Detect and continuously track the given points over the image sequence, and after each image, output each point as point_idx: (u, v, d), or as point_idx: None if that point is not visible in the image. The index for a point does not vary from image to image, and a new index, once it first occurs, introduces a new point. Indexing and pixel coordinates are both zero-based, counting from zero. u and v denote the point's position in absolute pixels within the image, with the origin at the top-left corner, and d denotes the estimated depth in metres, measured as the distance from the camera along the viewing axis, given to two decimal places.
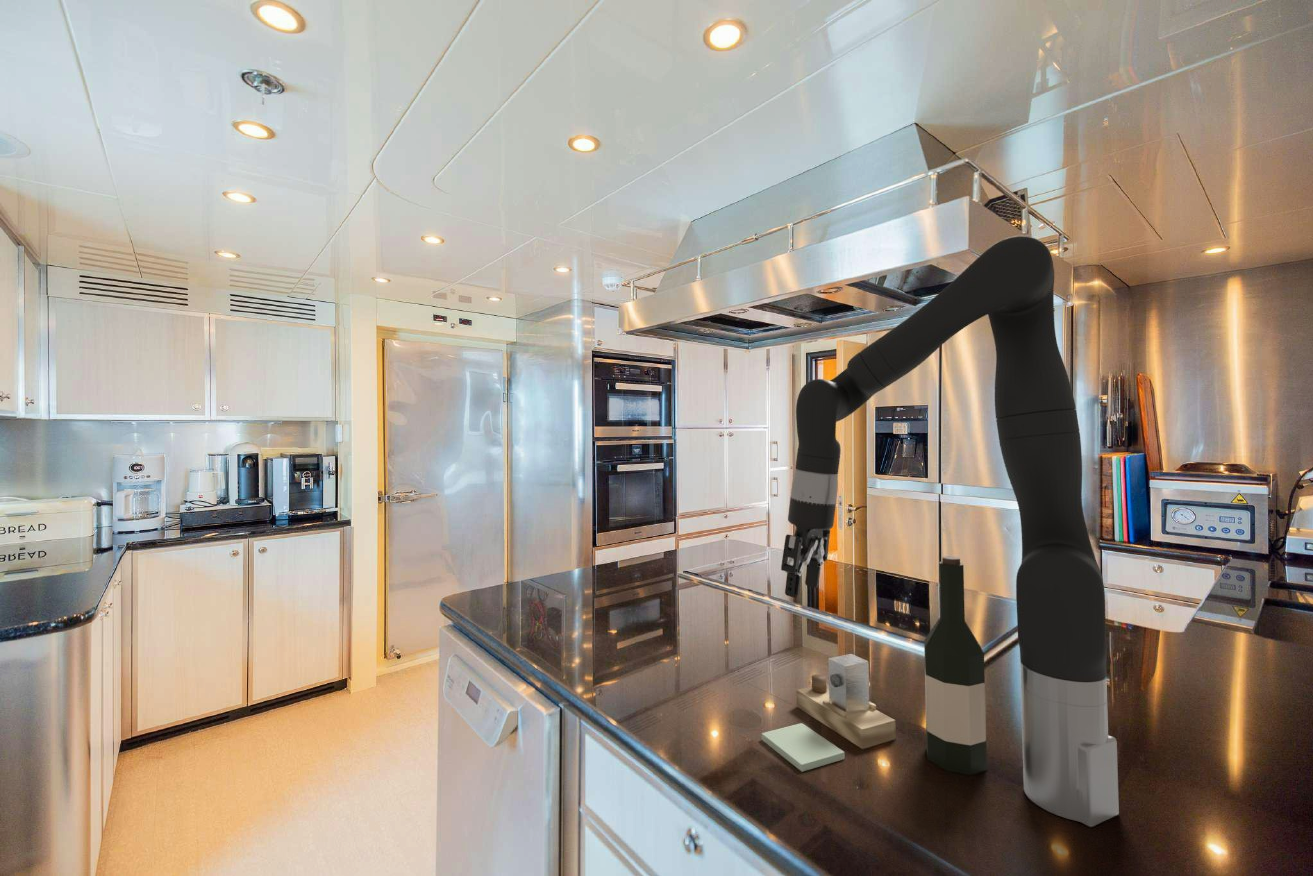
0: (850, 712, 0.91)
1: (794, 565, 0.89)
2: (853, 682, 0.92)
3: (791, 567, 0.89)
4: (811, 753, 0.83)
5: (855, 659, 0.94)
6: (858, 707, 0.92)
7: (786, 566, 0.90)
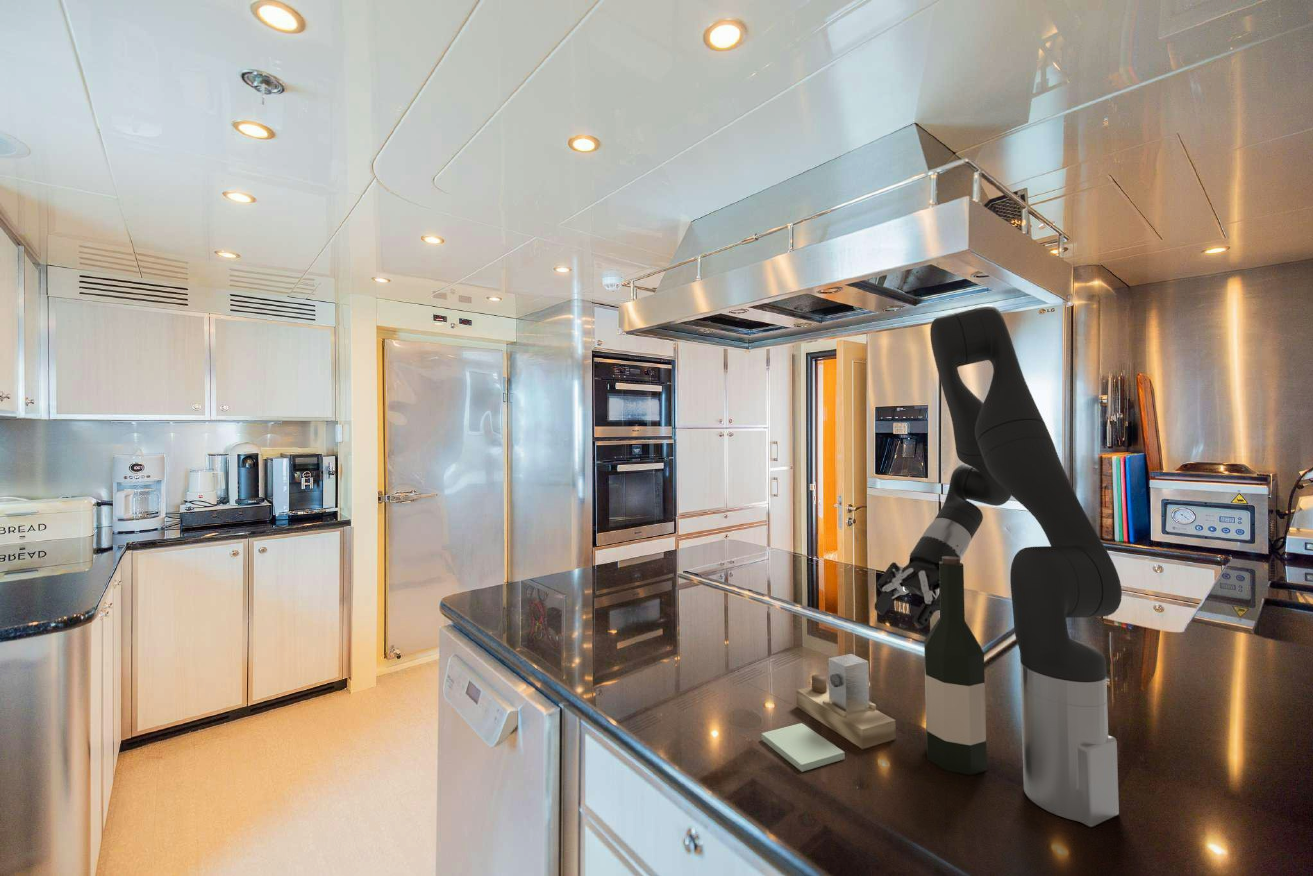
0: (850, 712, 0.91)
1: None
2: (853, 682, 0.92)
3: None
4: (811, 753, 0.83)
5: (855, 659, 0.94)
6: (858, 707, 0.92)
7: None
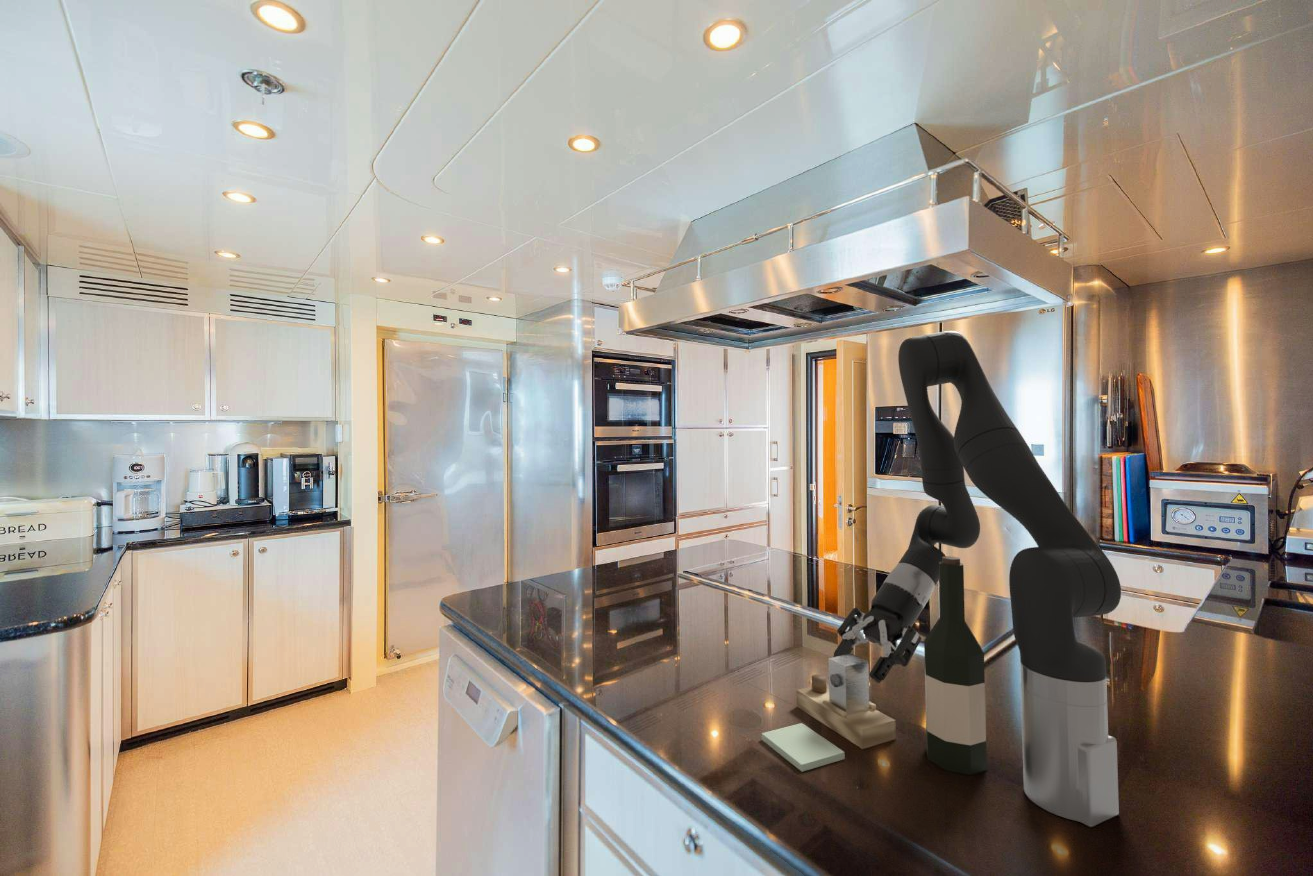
0: (850, 712, 0.91)
1: None
2: (853, 682, 0.92)
3: None
4: (811, 753, 0.83)
5: (855, 659, 0.94)
6: (858, 707, 0.92)
7: None
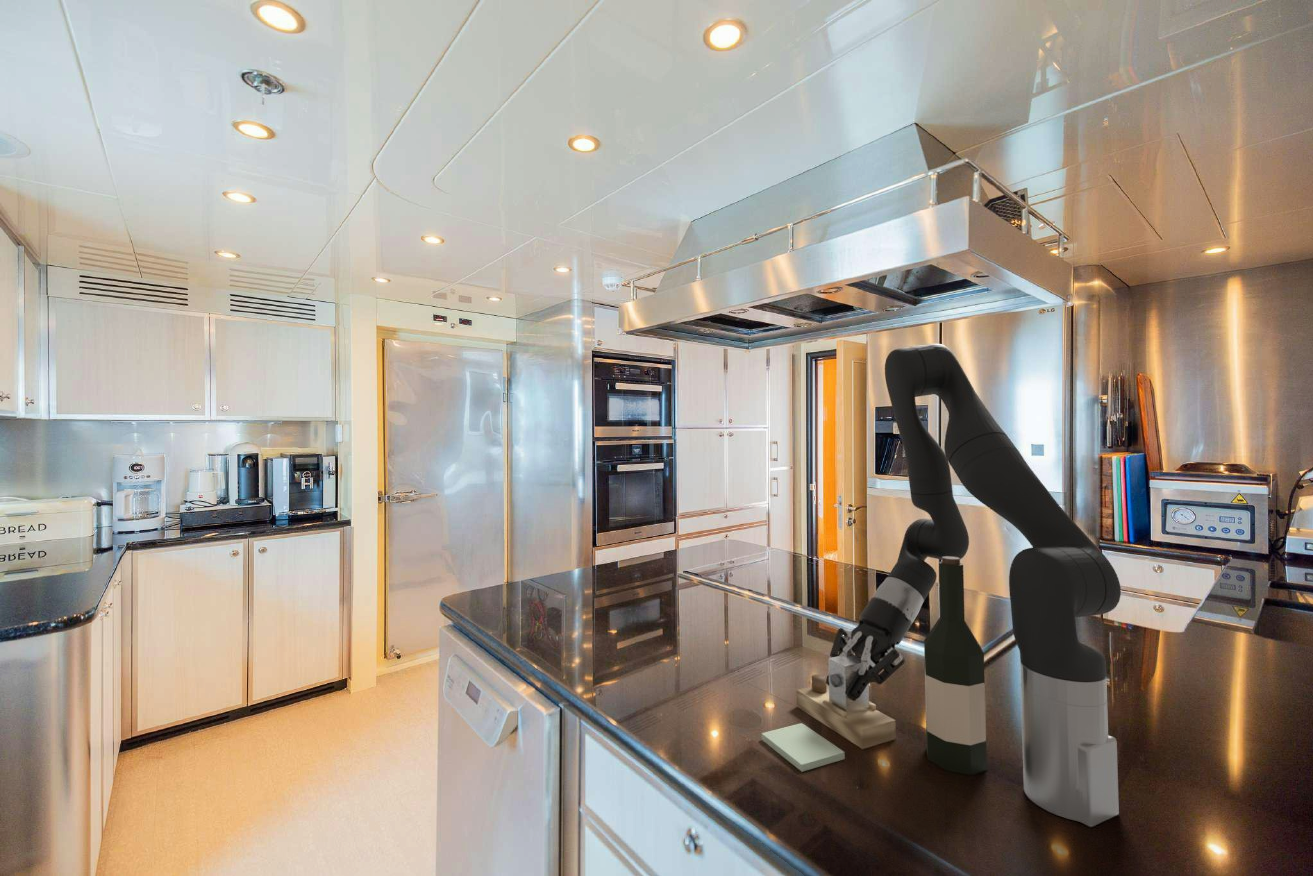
0: (850, 712, 0.91)
1: (832, 650, 0.99)
2: None
3: None
4: (811, 753, 0.83)
5: (855, 659, 0.94)
6: (858, 707, 0.92)
7: None
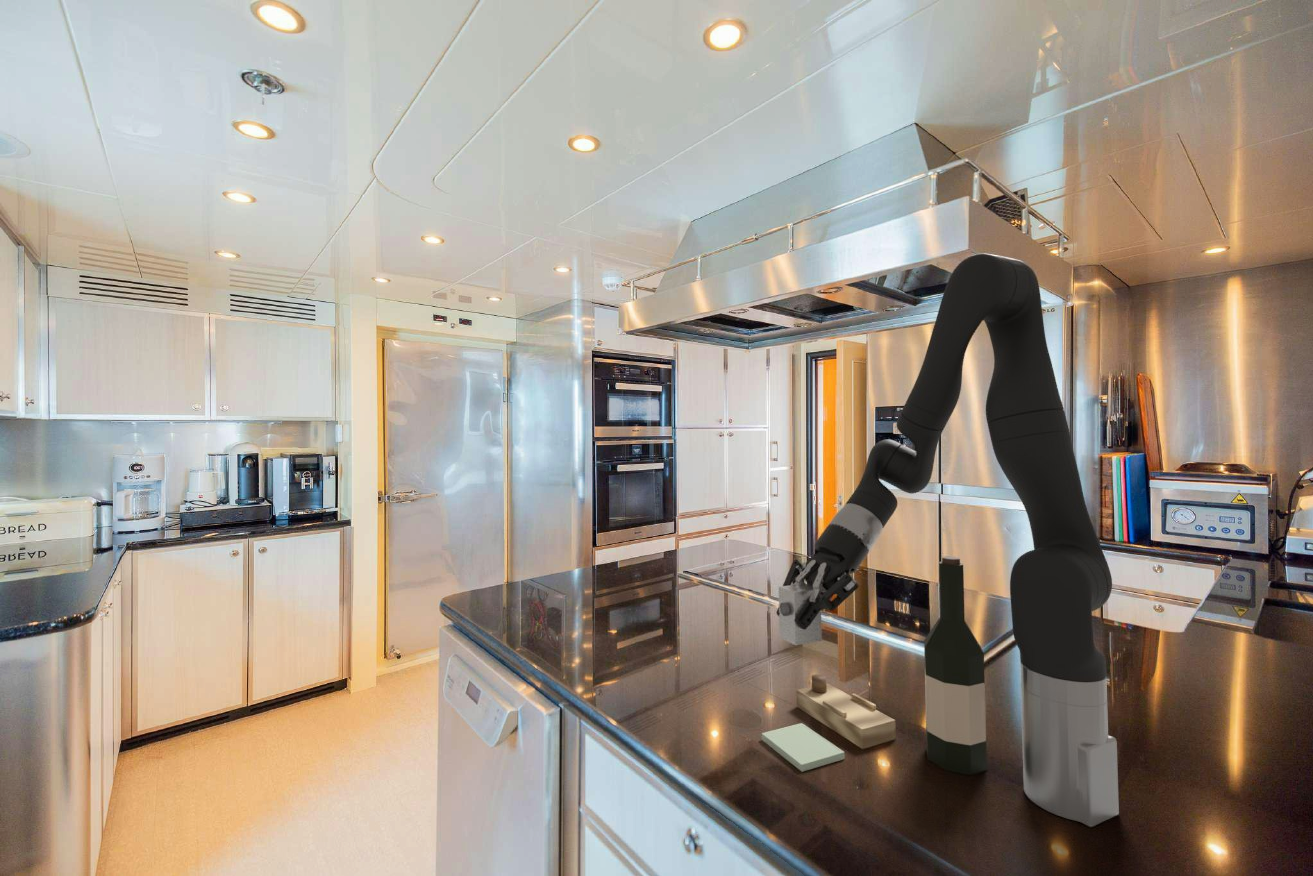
0: (799, 641, 0.85)
1: (785, 582, 0.93)
2: None
3: None
4: (811, 753, 0.83)
5: (807, 587, 0.87)
6: (809, 637, 0.85)
7: None
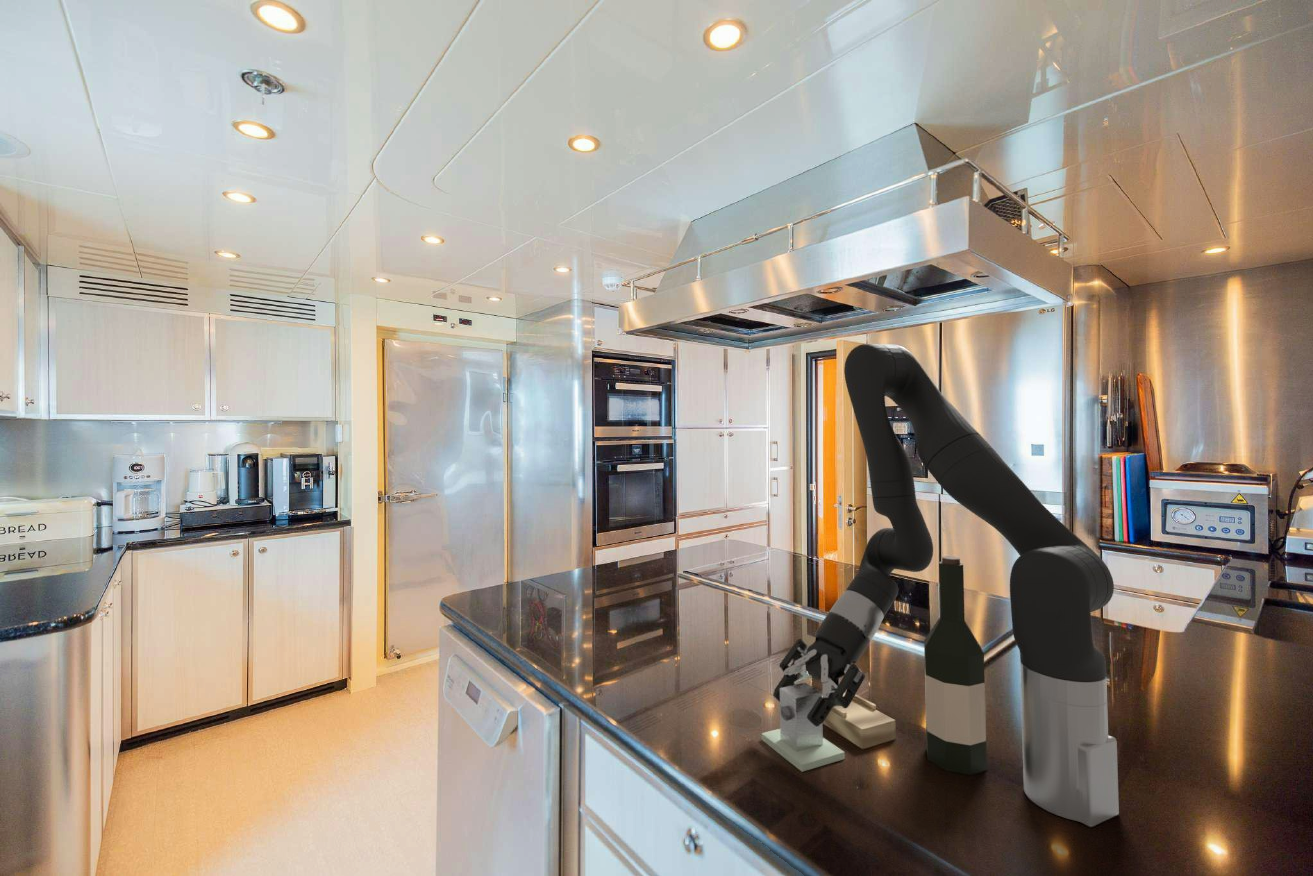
0: (801, 747, 0.84)
1: None
2: (804, 715, 0.85)
3: None
4: (811, 753, 0.83)
5: (808, 690, 0.87)
6: (810, 742, 0.85)
7: None
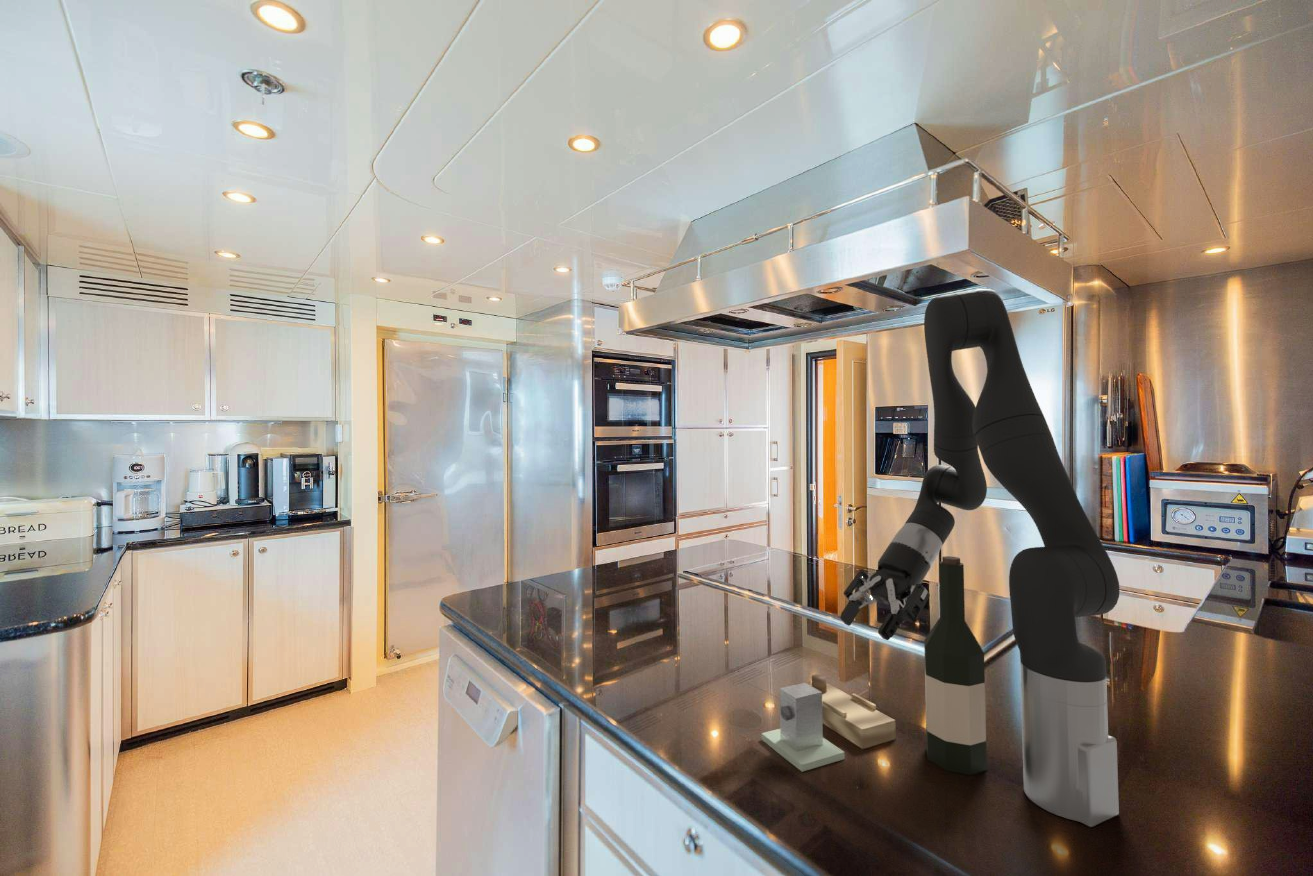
0: (801, 747, 0.84)
1: None
2: (804, 715, 0.85)
3: None
4: (811, 753, 0.83)
5: (808, 690, 0.87)
6: (810, 742, 0.85)
7: None
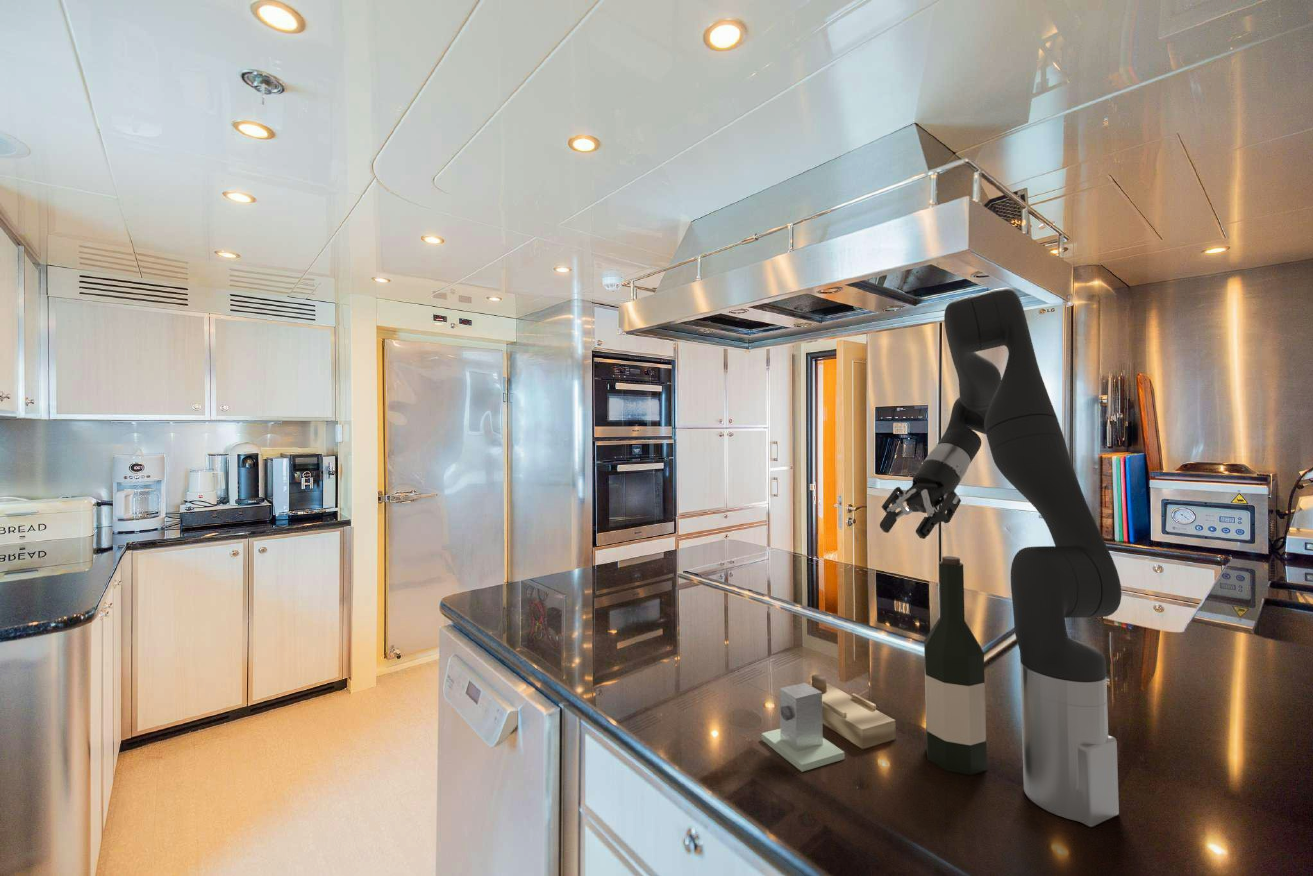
0: (801, 747, 0.84)
1: (885, 503, 1.14)
2: (804, 715, 0.85)
3: None
4: (811, 753, 0.83)
5: (808, 690, 0.87)
6: (810, 742, 0.85)
7: None
